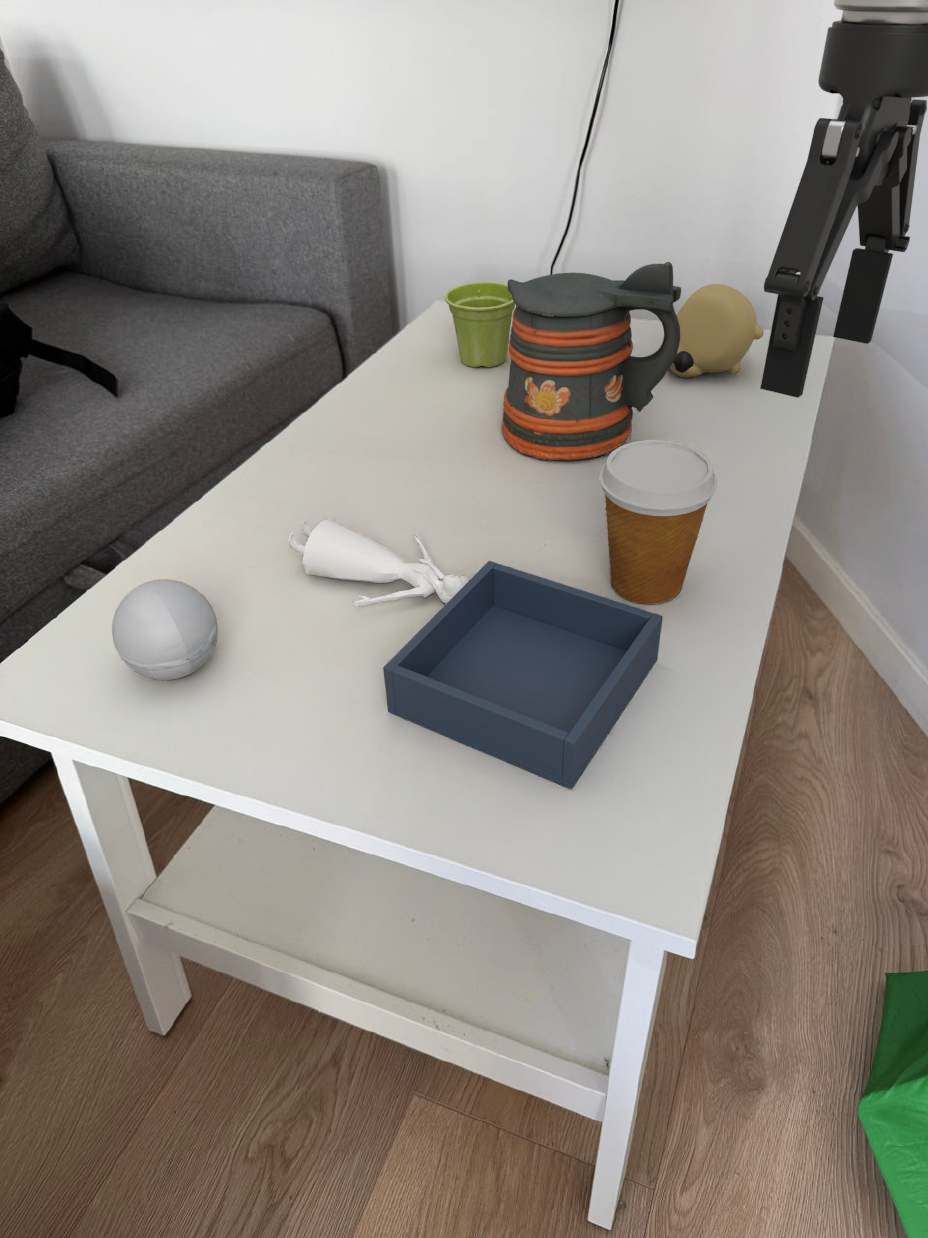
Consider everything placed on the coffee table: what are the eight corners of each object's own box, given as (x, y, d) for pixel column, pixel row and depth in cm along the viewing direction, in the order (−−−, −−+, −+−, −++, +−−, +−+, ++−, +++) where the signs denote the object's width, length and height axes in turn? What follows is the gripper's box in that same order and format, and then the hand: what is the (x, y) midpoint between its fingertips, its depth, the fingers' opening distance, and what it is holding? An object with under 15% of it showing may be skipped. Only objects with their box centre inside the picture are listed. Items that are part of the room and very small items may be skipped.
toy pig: (690, 380, 122) (636, 331, 118) (760, 310, 117) (705, 256, 113) (711, 411, 114) (653, 359, 110) (786, 337, 109) (729, 280, 105)
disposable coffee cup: (702, 620, 77) (723, 498, 70) (589, 612, 79) (597, 491, 71) (698, 556, 85) (716, 439, 77) (594, 549, 86) (602, 434, 79)
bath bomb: (244, 645, 77) (225, 567, 72) (194, 709, 71) (170, 630, 66) (161, 629, 79) (137, 552, 74) (107, 690, 73) (77, 612, 68)
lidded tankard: (678, 416, 107) (701, 238, 94) (656, 477, 96) (678, 286, 83) (522, 397, 112) (523, 226, 99) (485, 453, 101) (481, 270, 89)
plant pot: (481, 380, 116) (479, 313, 111) (433, 360, 122) (429, 294, 116) (533, 359, 121) (534, 293, 116) (485, 340, 127) (483, 276, 121)
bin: (657, 660, 74) (663, 615, 71) (571, 790, 63) (574, 744, 61) (489, 603, 80) (489, 560, 77) (387, 712, 70) (382, 667, 67)
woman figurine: (328, 487, 88) (500, 538, 82) (331, 525, 91) (497, 577, 85) (257, 551, 80) (442, 612, 74) (263, 590, 82) (442, 652, 77)
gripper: (899, 8, 64) (831, 312, 77) (747, 24, 49) (692, 404, 61) (1015, 10, 61) (924, 329, 73) (891, 28, 45) (802, 432, 57)
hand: (818, 364), depth 67 cm, fingers open, 13 cm apart
